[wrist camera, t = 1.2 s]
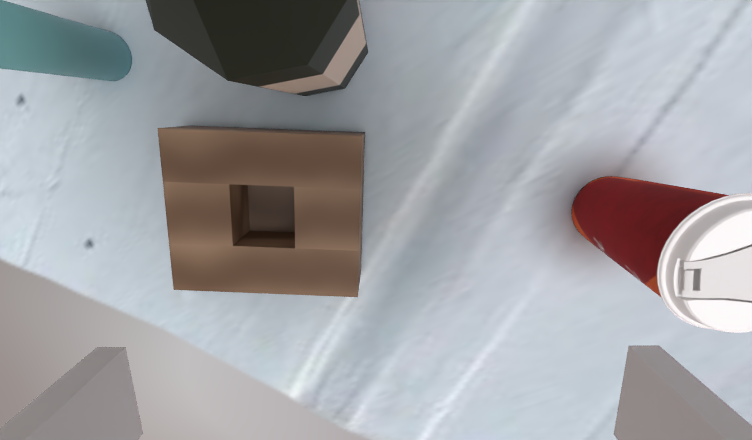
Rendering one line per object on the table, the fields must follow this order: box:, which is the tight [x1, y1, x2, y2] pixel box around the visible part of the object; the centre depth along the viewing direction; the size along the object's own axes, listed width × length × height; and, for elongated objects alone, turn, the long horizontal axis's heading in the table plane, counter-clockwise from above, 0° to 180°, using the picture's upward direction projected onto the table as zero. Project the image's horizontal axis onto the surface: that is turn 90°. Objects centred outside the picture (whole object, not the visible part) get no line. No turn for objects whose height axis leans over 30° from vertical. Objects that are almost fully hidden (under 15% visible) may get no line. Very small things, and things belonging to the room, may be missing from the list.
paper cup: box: [572, 176, 752, 333], centre depth 27 cm, size 8×8×14 cm
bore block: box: [158, 126, 365, 297], centre depth 32 cm, size 12×14×5 cm
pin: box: [0, 0, 132, 81], centre depth 25 cm, size 4×4×13 cm
